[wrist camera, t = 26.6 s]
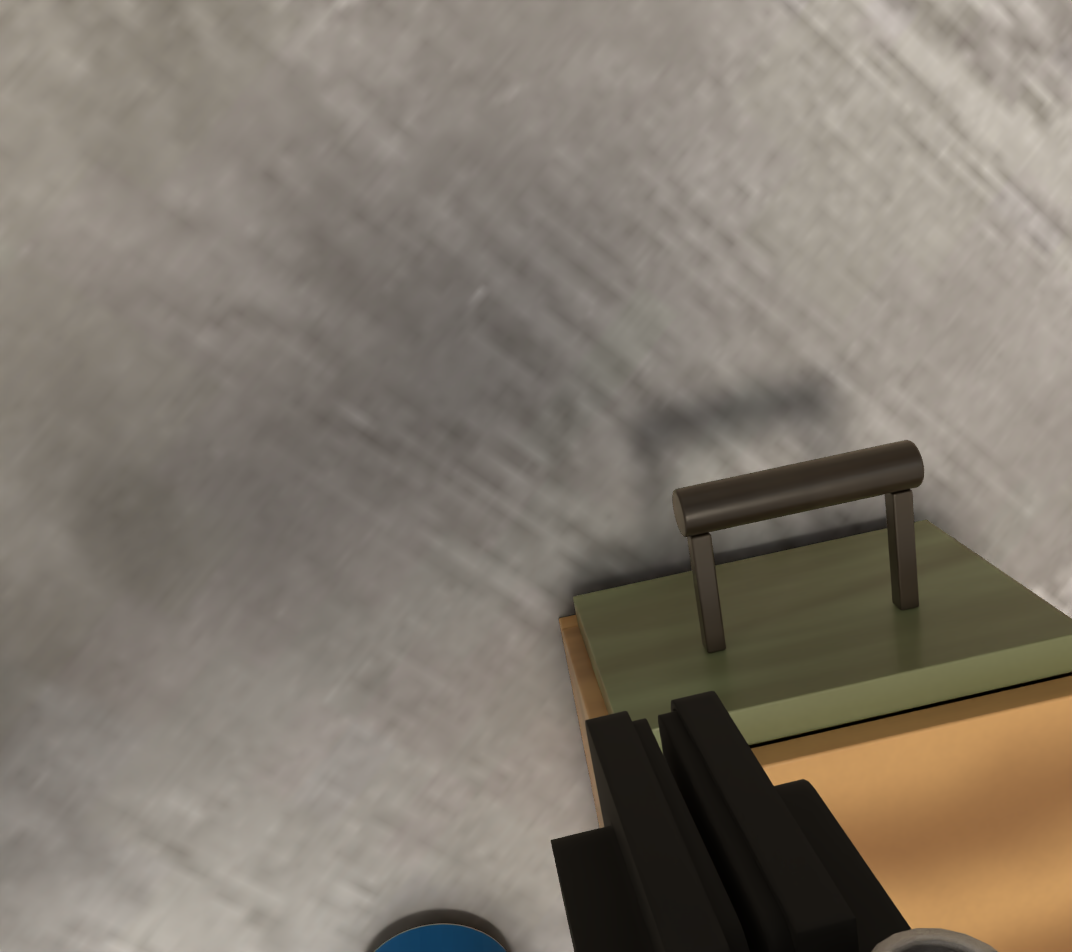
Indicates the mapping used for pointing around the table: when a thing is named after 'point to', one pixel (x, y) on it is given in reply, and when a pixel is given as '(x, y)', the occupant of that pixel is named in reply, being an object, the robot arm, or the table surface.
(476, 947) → the beverage can
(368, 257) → the table surface
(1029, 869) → the cabinet
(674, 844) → the robot arm
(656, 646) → the drawer
